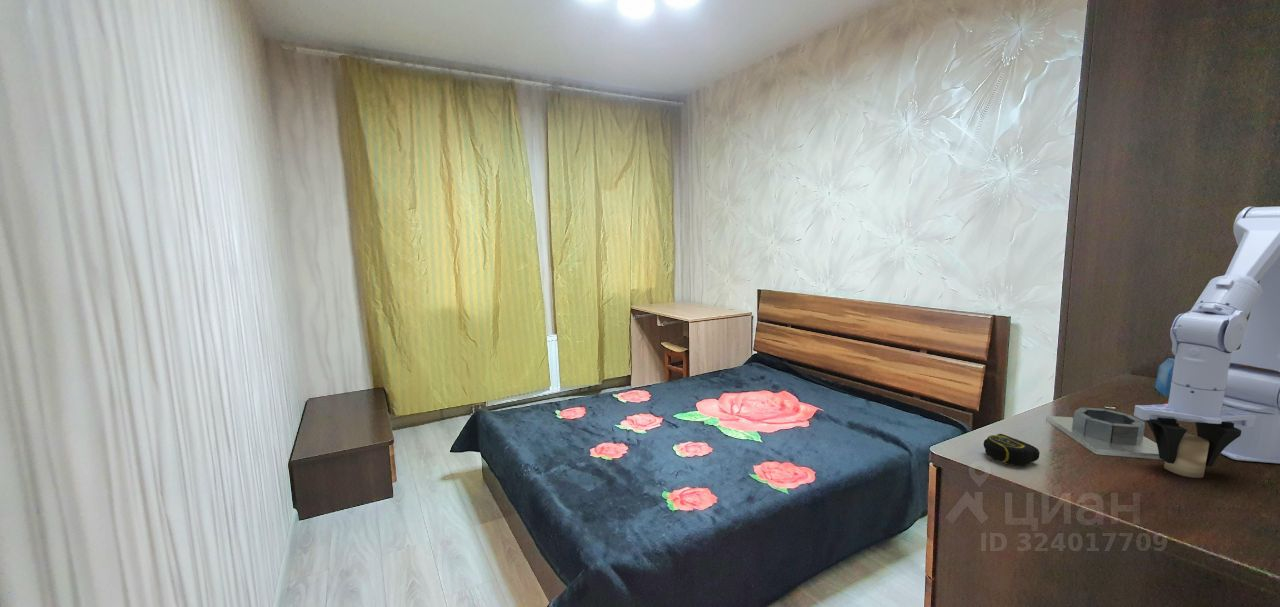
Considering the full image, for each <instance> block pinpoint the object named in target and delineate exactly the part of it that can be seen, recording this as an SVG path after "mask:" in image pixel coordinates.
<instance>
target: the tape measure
mask: <svg viewBox="0 0 1280 607" xmlns="http://www.w3.org/2000/svg"><path fill="white" fill-rule="evenodd" d="M983 448H984V452H985V454H986V455H987V456H988V457H990V458H991V459H993V460H996V461H997V462H1000V463H1003V464H1006V465H1011V466H1020V467H1022V466H1023V467H1024V466H1028V465H1029V464H1030V463H1034V462H1036V461H1038V460H1039V459H1040V450H1039V449H1038V448H1037V447H1035V446H1034V445H1032V444H1029V443H1027V442H1025V441H1022V440H1019V439H1017V438H1013V437H1011V436H1009V435H1006V434H1004V433H997V434H991V435H989V436H987V438H985V439H984V441H983Z"/></svg>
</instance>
